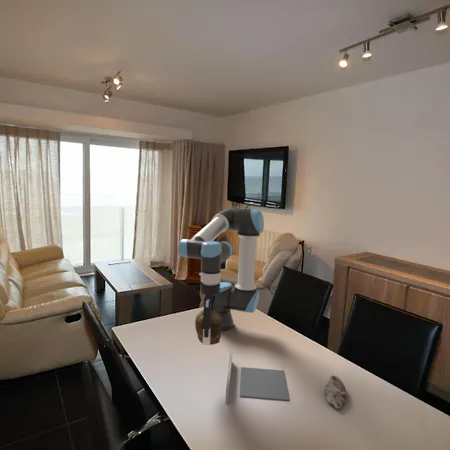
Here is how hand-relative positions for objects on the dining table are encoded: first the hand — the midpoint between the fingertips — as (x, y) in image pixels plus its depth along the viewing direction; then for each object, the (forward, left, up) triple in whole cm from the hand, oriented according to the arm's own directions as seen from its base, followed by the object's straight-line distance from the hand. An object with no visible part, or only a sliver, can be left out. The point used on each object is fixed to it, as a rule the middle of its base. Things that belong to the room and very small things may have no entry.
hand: (208, 336), depth 121 cm
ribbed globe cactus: (0, 0, -2) cm, 2 cm away
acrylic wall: (-6, +7, -18) cm, 20 cm away
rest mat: (-15, +17, -18) cm, 28 cm away
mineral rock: (-29, +40, -18) cm, 52 cm away
